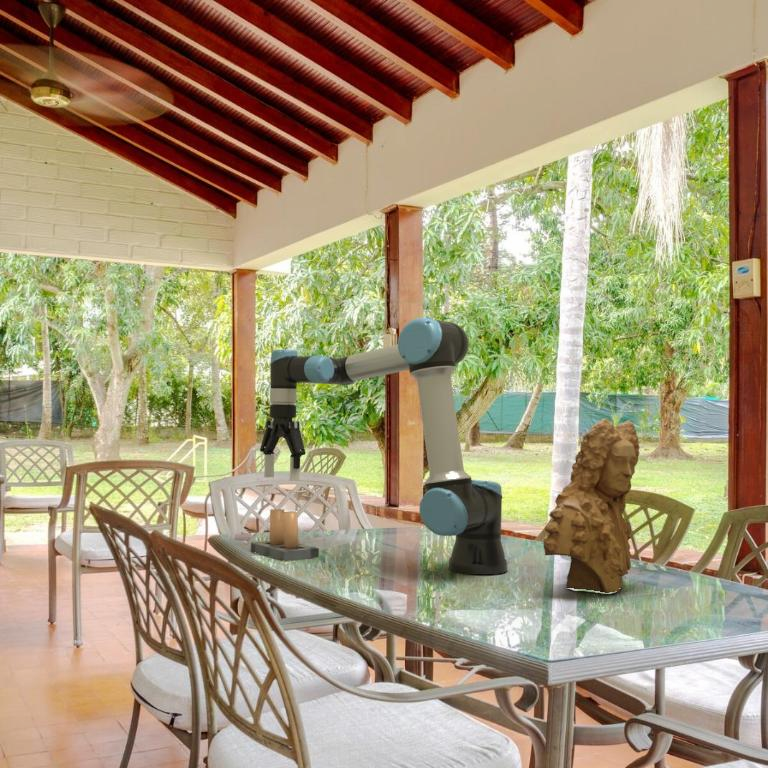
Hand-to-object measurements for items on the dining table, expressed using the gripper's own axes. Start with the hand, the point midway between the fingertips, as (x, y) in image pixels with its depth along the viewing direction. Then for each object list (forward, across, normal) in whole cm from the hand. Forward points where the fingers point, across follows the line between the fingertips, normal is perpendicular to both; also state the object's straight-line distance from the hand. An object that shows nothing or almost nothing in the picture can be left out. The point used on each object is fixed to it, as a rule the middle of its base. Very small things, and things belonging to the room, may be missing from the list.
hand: (281, 479), depth 245 cm
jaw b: (+21, 0, +1) cm, 21 cm away
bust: (+21, -82, -36) cm, 92 cm away
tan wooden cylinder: (+20, -8, +1) cm, 22 cm away
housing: (+21, -4, +1) cm, 21 cm away
